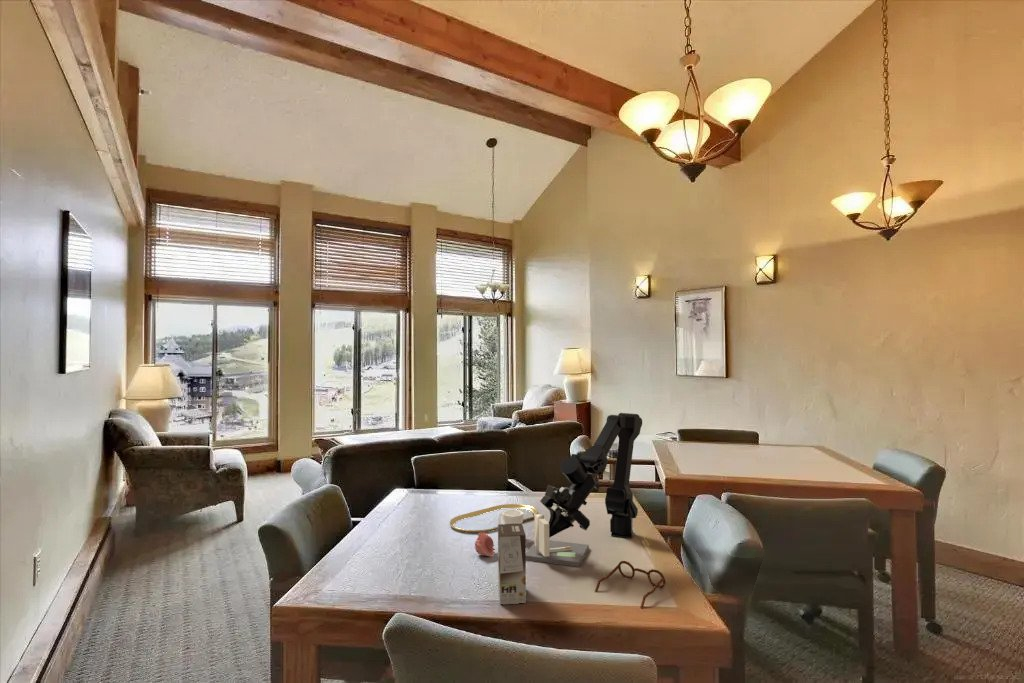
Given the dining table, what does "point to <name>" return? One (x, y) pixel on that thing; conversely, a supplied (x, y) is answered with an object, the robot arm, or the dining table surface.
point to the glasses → (633, 576)
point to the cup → (511, 517)
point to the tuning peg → (543, 536)
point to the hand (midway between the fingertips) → (546, 536)
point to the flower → (484, 545)
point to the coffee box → (511, 563)
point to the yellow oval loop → (489, 511)
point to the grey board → (560, 553)
